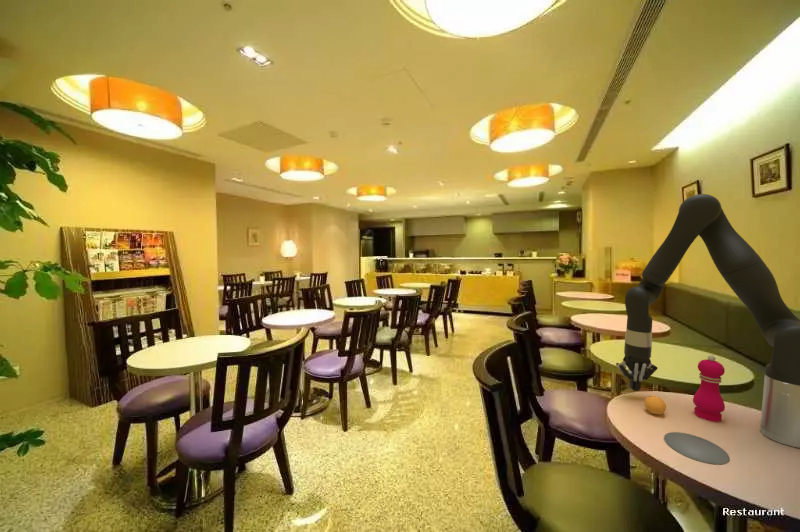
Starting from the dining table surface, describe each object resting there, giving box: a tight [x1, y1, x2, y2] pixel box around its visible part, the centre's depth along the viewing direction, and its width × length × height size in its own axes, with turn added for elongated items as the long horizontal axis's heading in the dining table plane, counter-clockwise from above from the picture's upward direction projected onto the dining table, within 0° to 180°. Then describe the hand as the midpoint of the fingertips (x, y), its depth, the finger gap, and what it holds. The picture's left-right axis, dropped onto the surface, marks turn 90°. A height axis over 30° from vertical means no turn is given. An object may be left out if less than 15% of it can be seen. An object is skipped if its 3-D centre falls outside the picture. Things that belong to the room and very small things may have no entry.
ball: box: [643, 395, 667, 415], centre depth 102 cm, size 6×6×6 cm
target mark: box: [663, 431, 730, 465], centre depth 86 cm, size 13×13×1 cm
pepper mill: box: [692, 354, 726, 423], centre depth 99 cm, size 7×7×20 cm
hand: (634, 390), depth 111 cm, fingers closed
